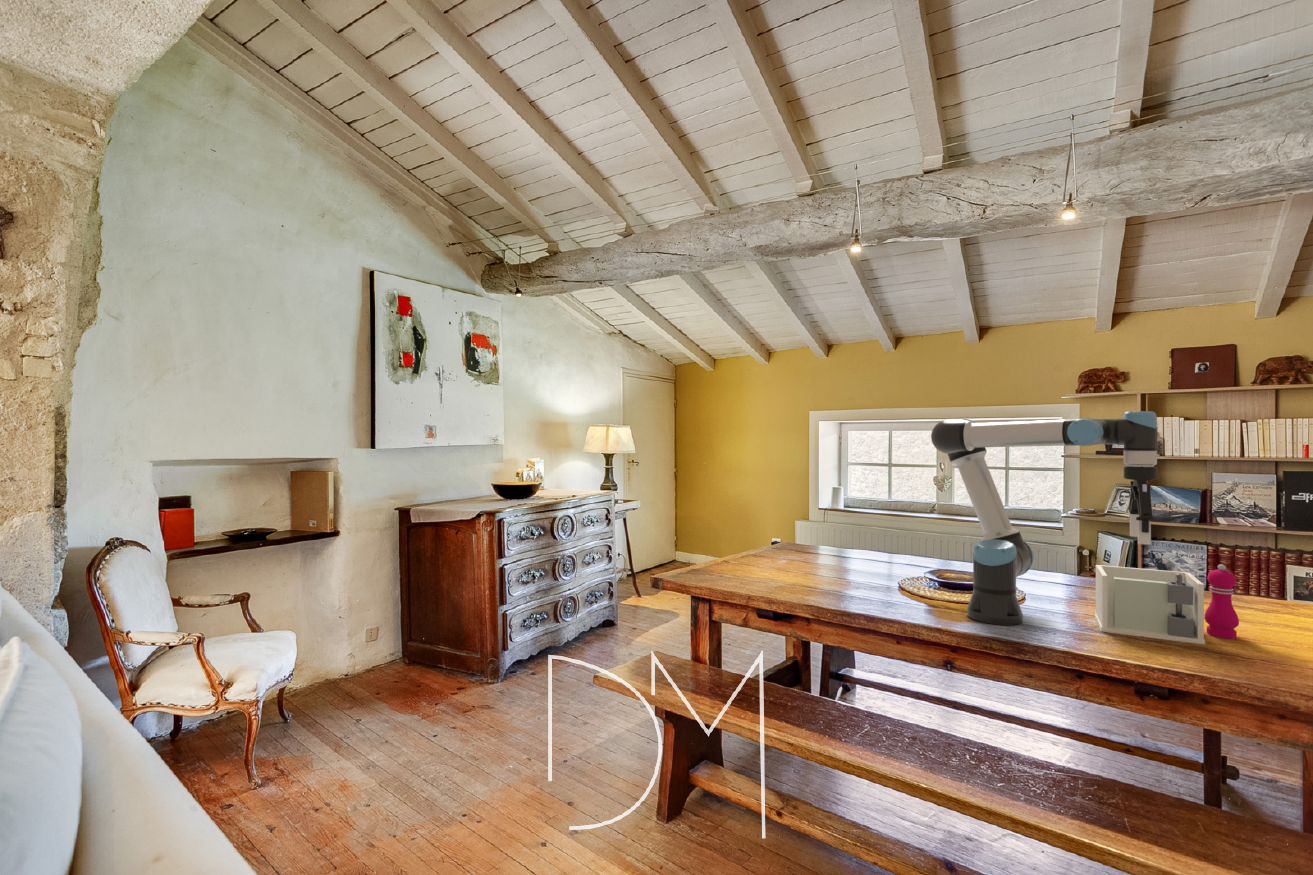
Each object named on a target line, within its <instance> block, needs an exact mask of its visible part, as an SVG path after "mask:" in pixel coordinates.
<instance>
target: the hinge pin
mask: <svg viewBox="0 0 1313 875" xmlns="http://www.w3.org/2000/svg"><path fill="white" fill-rule="evenodd" d="M1176 585H1182V575H1180V574H1177V575H1176ZM1176 617H1179V618H1182V604H1176Z"/></svg>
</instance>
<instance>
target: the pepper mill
mask: <svg viewBox="0 0 1313 875" xmlns="http://www.w3.org/2000/svg"><path fill="white" fill-rule="evenodd" d="M1207 574H1208V575H1207V581H1208V583H1210V586H1209V591H1210V592H1211V601H1210V604H1209V605H1208V607H1207V608H1206V610H1205V611H1204V622H1206V623H1207V624H1208V625H1207V626H1206V633H1207V635H1208V636H1209V635H1210V636H1212V637H1215V638H1221V639H1228V640H1229V639H1231V640H1232V639H1237V630H1235V628H1238V626H1239V624H1240V621H1239V620H1240V619H1239V616H1238V614H1237V611H1236V610H1235V608H1234V606H1233V603H1232V602H1233V601H1232V595H1233V594H1234V588H1233V587H1234V586H1236V584H1237V578H1236V576H1235V574H1233V573H1232V572H1231V571H1228V570H1227V567H1226V565H1224V564H1223V563H1221V564H1218V565H1217V569H1214V570H1213V569H1212V570H1211V571H1209V572H1208V573H1207Z"/></svg>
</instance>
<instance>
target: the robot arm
mask: <svg viewBox="0 0 1313 875" xmlns="http://www.w3.org/2000/svg"><path fill="white" fill-rule="evenodd" d="M1157 416H1158V415H1157V414H1156V412H1154V411H1145V410H1144V411H1142V410H1141V411H1125V412H1124V414H1123V416H1122V418H1121V417H1120V418H1089V417H1085V418H1081V417H1080V418H1071V419H1051V420H1049V419H1048V420H1030V421H1027V420H1026V421H1025V420H1024V421H1006V422H1005V421H1003V422H985V423H984V422H983V423H980V422H979V423H977V422H975V421H973V420H970V419H968V418H956V419H955V418H947V419H944V420H941V421H939V422H938V423H936V425H934V426H933V428H932V430H931V434H930V439H931V443H932V445H933V447H934V448H936V450H938V451H939V452H941V453H943V454H947V456H948V459H949V462H950V463H951V464H953V465H955V466H956V467H957V468H958V471H959V473H960V476H961V478H962V481H963V484H964V486H965V489H966V491H967V494H968V497H969V499H970V501H971V504H972V507H973V509H974V513H975V514H976V516H977V519H978V522H979V525H980V526H981V529H982V533H983V537H982V538H981V540H979V541H977V542H976V543H975V544H974V545H973V551H972V560H973V561H972V562H973V563H972V564H973V565H972V568H973V569H972V570H973V575H972V576H973V582H972V583H973V584H972V586H973V587H972V588H973V591H972V594H971V596H970V599H969V603H968V605H967V608H966V611H967V612H966V615H967V617H969V619H972V620H975V621H978V622H981V623H986V624H990V625H999V626H1000V625H1001V626H1014V625H1015V626H1016V625H1020V624H1022V623H1023V622H1024V619H1023V618H1024V617H1023V610H1022V608H1021V606H1020V602H1019V600H1018V596H1017V577H1019V576H1023V575H1024V574H1026V573H1027V572H1028V571H1029V570H1030V569H1031V568H1032V566H1033V564H1034V560H1035V557H1034V556H1035V555H1034V552H1033V551H1034V550H1033V549H1032V547H1031V546H1030V545H1029V543H1027V542H1026V541H1025V540H1024V539H1023V536H1022V534H1021V531H1020V530H1019V529H1017V528H1014V526H1012V523H1011V520H1010V519H1009V516H1008V514H1007V511H1006V509H1005V506H1004V503H1003V500H1002V498H1001V496H1000V494H999V490H998V488H997V486H996V485H995V481H994V478H993V476H992V474H991V472H990V469H989V467H988V464H987V462H986V459H985V456H986V455H987V453H988V451H987V448H1011V447H1012V448H1014V447H1015V448H1017V447H1018V448H1019V447H1053V446H1054V447H1057V446H1058V447H1061V446H1064V447H1065V446H1067V447H1069V446H1071V447H1073V446H1081V447H1088V446H1089V447H1090V446H1094V445H1096V446H1097V445H1119V446H1120V445H1123V463H1122V464H1124V465H1125V466H1124V467H1123V478H1124V479H1125V480H1131V481H1130V482H1129V484H1130V487H1129V488H1130V492H1129V502H1128V511H1129V537H1135V538H1136V537H1137V545H1152V520H1153V519H1154V517H1153V509H1152V508H1153V507H1152V497H1151V488H1152V486H1151V484H1149V483H1148V481H1155V480H1158V467H1157V466H1156V465H1157V464H1158V459H1157V458H1160V454H1159V453H1158V430H1159V426H1158V419H1157Z"/></svg>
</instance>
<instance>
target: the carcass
mask: <svg viewBox="0 0 1313 875" xmlns="http://www.w3.org/2000/svg"><path fill="white" fill-rule="evenodd" d="M1177 574H1180V575H1182V582H1185V583H1189V584H1190V585H1192V586H1193V605H1185V604H1182V614H1185V615H1189V616H1190V617H1191V618H1192V619H1193V638H1187V637H1179V636H1171V635H1168V634H1166V633H1157V632H1149V631H1141V630H1133V629H1125V628H1116V627H1114V625H1113V577H1118V578H1129V579H1140V580H1152V581H1163V582H1165V581H1174V582H1176V575H1177ZM1204 604H1205V584H1204V583H1203V582H1202V581H1200V580H1199V579H1197V577H1195V576H1194V575H1193V574H1192V573H1190V572H1188V571H1187V572H1185V571H1178V570H1177V571H1175V570H1163V569H1162V570H1161V569H1152V568H1151V569H1150V568H1139V567H1137V568H1136V567H1128V566H1126V567H1125V566H1116V565H1103V564H1102V565H1101V564H1095V612H1094V619H1095V621H1096V623H1097V625H1098V627H1099V629H1100V632H1103V633H1109V634H1110V633H1111V634H1117V635H1118V634H1119V635H1128V636H1133V637H1134V636H1136V637H1142V636H1143V638H1151V639H1159V640H1164V641H1165V640H1167V641H1175V642H1183V643H1188V644H1189V643H1190V644H1196V645H1197V644H1199V645H1206V639H1205V636H1204V635H1205V634H1204V632H1205V619H1204V617H1205V605H1204ZM1168 613H1175V614H1176V603H1169V602H1168Z"/></svg>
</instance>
